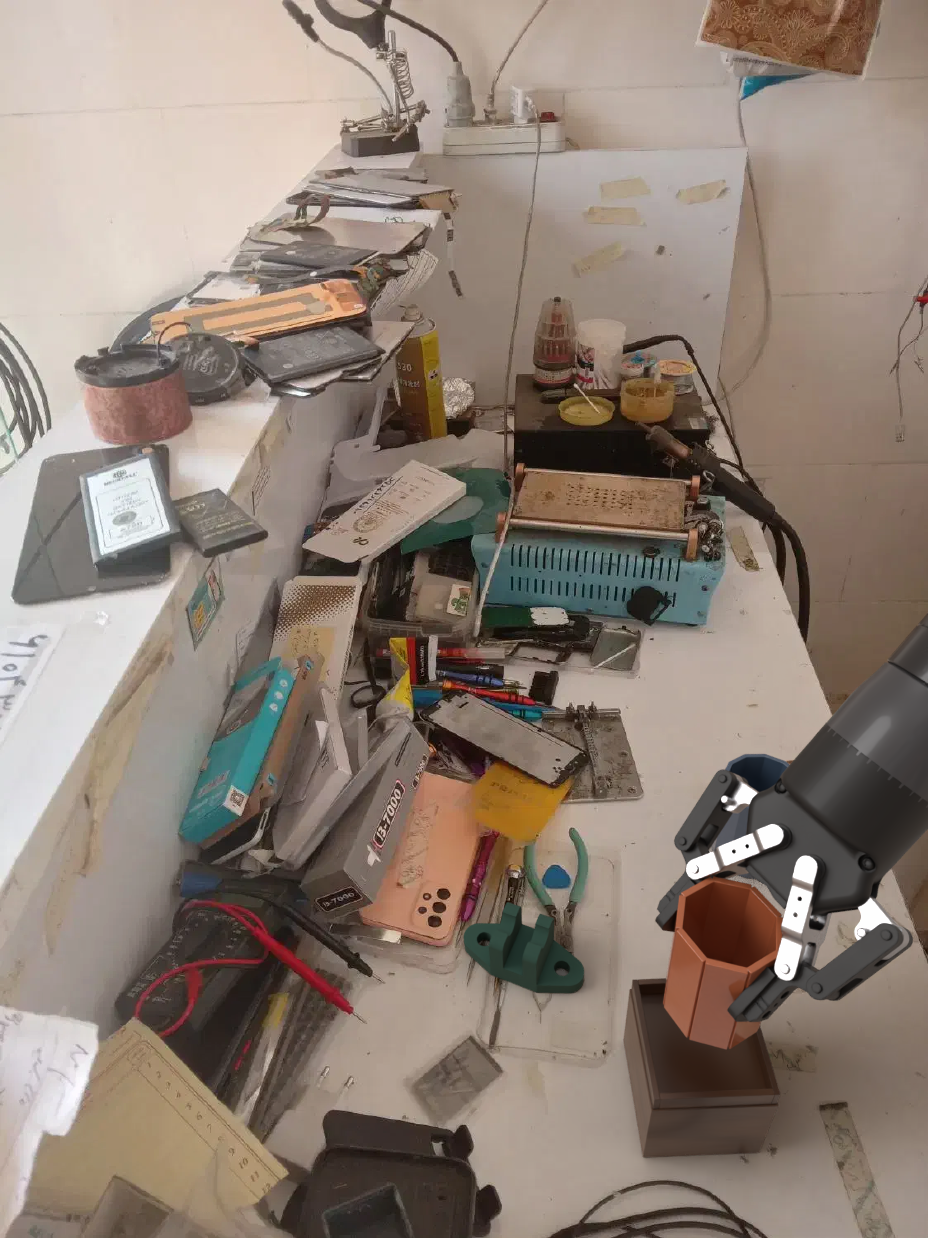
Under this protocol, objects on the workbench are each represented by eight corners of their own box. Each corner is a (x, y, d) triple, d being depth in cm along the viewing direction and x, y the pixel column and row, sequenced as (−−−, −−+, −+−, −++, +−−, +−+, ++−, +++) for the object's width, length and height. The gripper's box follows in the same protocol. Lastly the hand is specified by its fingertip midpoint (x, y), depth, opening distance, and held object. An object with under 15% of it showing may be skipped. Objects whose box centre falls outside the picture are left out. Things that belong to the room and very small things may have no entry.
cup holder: (728, 1035, 66) (746, 973, 60) (759, 1153, 59) (782, 1096, 53) (623, 1039, 66) (630, 978, 60) (642, 1157, 59) (653, 1101, 54)
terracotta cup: (779, 1017, 53) (806, 939, 47) (706, 1064, 51) (725, 989, 45) (715, 942, 57) (733, 863, 52) (645, 983, 55) (656, 906, 50)
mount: (455, 961, 72) (451, 929, 69) (475, 918, 75) (472, 886, 72) (574, 1007, 68) (576, 976, 65) (590, 960, 71) (592, 928, 68)
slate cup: (802, 859, 78) (823, 793, 72) (746, 891, 76) (762, 826, 70) (750, 808, 83) (765, 743, 77) (695, 837, 81) (707, 772, 75)
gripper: (766, 672, 50) (596, 875, 53) (986, 841, 39) (758, 1082, 42) (814, 704, 55) (656, 888, 58) (1020, 862, 44) (814, 1075, 47)
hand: (700, 969), depth 50 cm, fingers closed on terracotta cup, 6 cm apart
